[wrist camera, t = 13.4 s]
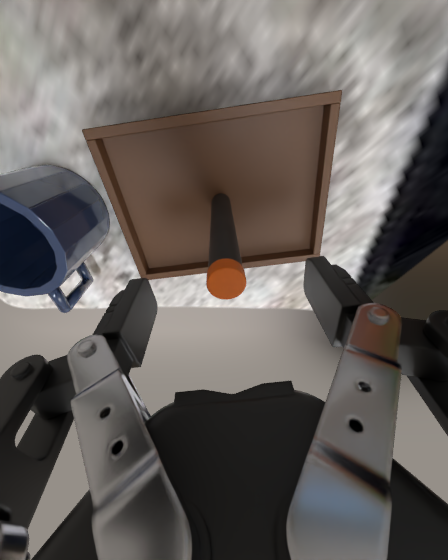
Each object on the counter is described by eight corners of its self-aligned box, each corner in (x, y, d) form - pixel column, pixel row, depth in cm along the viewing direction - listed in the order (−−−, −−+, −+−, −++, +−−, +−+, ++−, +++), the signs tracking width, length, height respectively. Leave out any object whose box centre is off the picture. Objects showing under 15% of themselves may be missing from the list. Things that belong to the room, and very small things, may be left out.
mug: (-4, 171, 22) (-113, 195, 15) (86, 158, 22) (20, 176, 14) (64, 277, 30) (13, 329, 22) (132, 269, 29) (104, 318, 22)
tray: (92, 129, 21) (81, 129, 19) (331, 92, 20) (342, 89, 18) (146, 272, 29) (141, 280, 28) (313, 251, 28) (319, 259, 27)
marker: (209, 194, 24) (203, 270, 11) (229, 191, 24) (244, 265, 11) (212, 213, 25) (209, 302, 12) (231, 211, 25) (247, 297, 12)
